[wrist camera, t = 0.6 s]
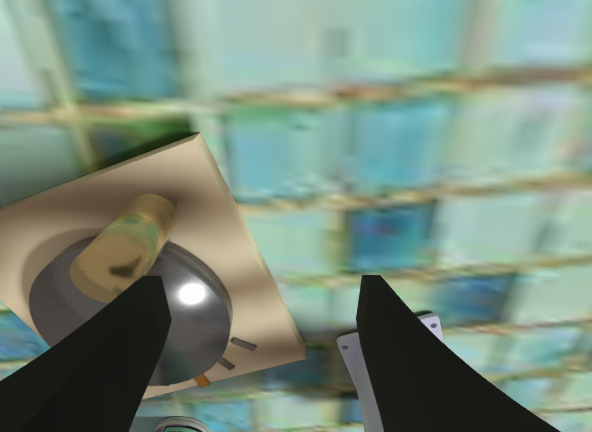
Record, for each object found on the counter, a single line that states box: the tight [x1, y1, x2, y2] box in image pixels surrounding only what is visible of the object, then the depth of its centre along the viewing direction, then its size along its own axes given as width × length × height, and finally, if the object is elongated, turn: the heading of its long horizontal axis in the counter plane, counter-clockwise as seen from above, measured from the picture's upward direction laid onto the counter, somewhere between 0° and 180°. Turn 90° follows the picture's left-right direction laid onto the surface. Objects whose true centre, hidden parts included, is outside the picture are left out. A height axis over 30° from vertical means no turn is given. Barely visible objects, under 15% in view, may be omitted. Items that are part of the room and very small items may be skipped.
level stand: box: [0, 132, 306, 399], centre depth 22 cm, size 18×17×2 cm
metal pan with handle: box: [29, 194, 233, 386], centre depth 18 cm, size 17×12×6 cm
